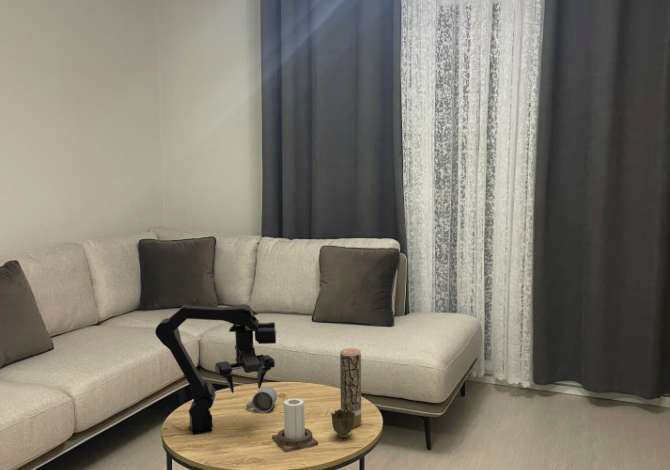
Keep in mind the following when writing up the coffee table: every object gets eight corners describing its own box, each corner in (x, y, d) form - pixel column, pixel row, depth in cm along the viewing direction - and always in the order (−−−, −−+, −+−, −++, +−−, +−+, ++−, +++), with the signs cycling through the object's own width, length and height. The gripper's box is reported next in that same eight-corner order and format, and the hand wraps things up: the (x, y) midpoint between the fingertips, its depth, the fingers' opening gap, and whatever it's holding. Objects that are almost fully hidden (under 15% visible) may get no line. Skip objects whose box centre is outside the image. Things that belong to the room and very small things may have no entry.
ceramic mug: (278, 404, 244) (277, 383, 243) (273, 413, 236) (272, 392, 235) (249, 404, 245) (248, 383, 244) (244, 412, 237) (242, 391, 236)
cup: (341, 430, 221) (341, 406, 220) (359, 436, 216) (359, 412, 215) (326, 438, 215) (326, 414, 214) (345, 444, 210) (344, 419, 209)
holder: (285, 452, 205) (284, 443, 205) (272, 438, 215) (272, 430, 215) (318, 444, 210) (317, 436, 210) (303, 432, 220) (303, 423, 219)
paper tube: (359, 429, 222) (358, 355, 218) (339, 427, 223) (338, 353, 220) (362, 420, 228) (362, 348, 225) (343, 419, 230) (342, 348, 226)
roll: (291, 444, 208) (290, 407, 207) (281, 437, 213) (280, 401, 212) (307, 439, 211) (307, 402, 210) (298, 433, 216) (297, 397, 215)
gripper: (223, 354, 208) (225, 403, 210) (280, 346, 217) (281, 393, 218) (213, 345, 218) (215, 392, 220) (268, 337, 226) (269, 382, 228)
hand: (245, 390), depth 222 cm, fingers open, 9 cm apart
